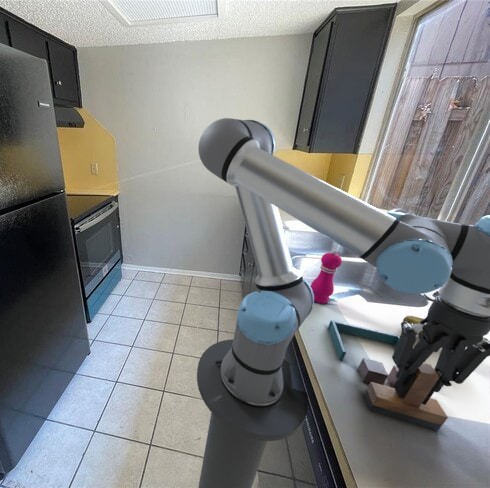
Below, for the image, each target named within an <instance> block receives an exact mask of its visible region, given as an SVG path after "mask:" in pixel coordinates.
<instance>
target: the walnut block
mask: <svg viewBox="0 0 490 488" xmlns="http://www.w3.org/2000/svg"><path fill="white" fill-rule="evenodd" d="M357 371H358V373H359V376H360V378H361V381H362V383H366V384H368V385H369V384H370V382H374V383H377V384H381V385H385V383H386V380H387V379H388V375H389V373H388V372H387V370H386V369H385V366H384V364H383V363H382V362H381V361H377V360H374V359H370V358H366V357H362V359H361V361H360V363H359V365H358V367H357Z"/></svg>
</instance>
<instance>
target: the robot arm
mask: <svg viewBox="0 0 490 488" xmlns="http://www.w3.org/2000/svg"><path fill="white" fill-rule="evenodd" d="M197 149H198V156H199V160H200V162H201V163H202V165H203V166H204V167H205V168H206V169H207V170H208V171H209V172H210V173H211V174H212V175H214V176H216V177H217V178H219V179H220V180H222V181H224V182H225V183H227V184H229V185H231V186H232V187H234V188H235V190H236V195H237V199H238V202H239V206H240V211H241V213H242V217H243V220H244V221H243V222H244V224H245V228H246V231H247V235H248V239H249V243H250V246H251V251H252V254H253V257H254V262H255V265H256V268H257V273H258V274H257V276H256V278H255V279H254V284H255V287H256V291H253V292H251V293H248V294H247V295H246V296H244V297H243V299H242V300H241V302H240V305H239V308H238V311H237V316H236V324H235V327H234V328H235V329H234V333H233V344H232V348H231V349H230V350H229V352H228V353H227V354H226V356H225V357H224V359H223V360H217V361H215V363H216V364H221V367H220V378H221V381H222V383H223V385H224V387H225V389H226V390H227V391H228V392H229V394H230V395H231V396H233V397H234V398H235V399H236V400H238V401H239V402H241V403H243V404H245V405H248V406H251V407H255V408H266V407H270V406H272V405H274V404H276V403H277V402H278V401H279V399H280V397H281V395H282V392H283V385H284V383H283V380H284V379H283V375H282V368H281V365H282V362H283V359H285V355H286V353H287V349H288V347H289V345H290V343H291V341H292V340H293V338H294V336H295V335H296V333H297V331H298V330H299V329H300V327H301V326H302V325H303V323H304V322H305V321H306V319H307V318H308V316H309V315H310V314H311V313H312V310H313V306H314V302H315V301H314V294H313V291H312V288H311V287H310V286H311V284H310V283H309V282H308V281H307V280H304V277H303V273H302V272H301V270H299V269H297V268H295V267H294V264H293V261H292V257H291V252H290V250H289V245H288V241H287V237H286V234H285V230H284V226H283V222H282V219H281V214H280V211H279V209H280V210H281V211H282V212H284V213H286V214H288V215H289V216H291V217H293V218H294V219H296V220H298V221H299V222H301V223H303V224H304V225H306V226H308V227H309V228H311V229H312V230H314V231H316V232H317V233H319V234H320V235H322V236H324V237H326V238H327V239H329V240H331V241H332V242H334V243H336V244H337V245H339V246H340V247H342V248H343V249H345V250H347V251H348V252H351V254H354V255H355V256H357V257H358V258H360V259H362V260H363V261H365V262H367V264H369V265H371V266H372V267H374V268H376V273H377V274H378V276H379V278H380V279H381V281H382V282H383V283H384V284H385V285H387V286H388V287H390V288H391V289H393V290H395V291H397V292H398V291H399V292H401V293H405V294H410V295H411V294H412V295H421V294H428V293H432V292H435V291H436V290H438V289H439V290H438V295H436V296H435V297H434V299H433V301H432V302H431V304H430V306H429V308H428V310H427V315H426V317H425V318H422V319H423V320H421V321H420V323H418V324H409V323H408V322H406V321H403V320H402V321H401V323H400V328H401V333H400V335H399V336H400V338H399V340H398V343H397V345H396V347H395V348H394V350H393V353H392V356H391V359H392V361H393V363H394V364H395V366H397V368H399V370H398V372H397V373H396V378H397V381H396V383H395V385H394V388H395V390H396V392H397V394H398V396H399V398H404V397H405V395H406V394H407V392H408V390H409V389H410V387H411V386H412V384H413V383H414V381H415V379H416V378H417V376H416V374H415V373H414V372H415V371H416V370H417V369H418V368H419V367H420V366H421V365H422V364H423V363H426V361H427V360H428V359H429V358H430V357H431V355H433V354H434V353H438V352H440V353H439V356H438V358H437V361H436V364H435V367H434V370H435V371H436V372H437V374H438V375H439V379H438V380H437V382H436V383H435V385H434V386H433V388H432V389H431V391H430V392H429V394H428V395H427V396H426V398H425V399H424V401H423V402H422V404H424V405H426V403H427V402H428V400H429V399H430V398H432V397H433V394H434V393H439V392H440V391H441V390H442V389H443V387H444V386H445V387H451V386H453V385H452V383H451V382H454V383H455V384H457V385H461V384H463V383H464V382H465V381H466V380H467V379H468V378H469V377H470V375H472V374H473V372H474V371H475V370H476V369H477V368H478V367H479V366H480V365H481V364H482V363H483V362H484V361H486V359H487V358H488V357H490V340H489V339H488V338H487V337H484V336H487V335H488V334H489V333H490V214H488V215H484V216H482V217H481V218H479V220H478V221H477V222H475V223H474V224H463V223H457V222H453V221H446V220H441V219H437V218H436V219H435V218H429V217H424V216H420V215H415V214H411V213H407V212H405V213H404V212H403V213H402V212H394V211H386V212H384V211H383V210H380V209H379V208H376V207H375V206H373V205H371V204H369V203H367V202H365V201H363V200H361V199H359V198H357V197H355V196H353V195H351V194H349V193H347V192H345V191H343V190H342V189H340V188H337V187H335V186H334V185H332V184H329V183H328V182H326V181H324V180H322V179H320V178H318V177H316V176H314V175H313V174H311V173H309V172H306V171H305V170H303V169H300V168H299V167H296V166H295V165H293V164H291V163H289V162H287V161H285V160H283V159H281V158H279V157H277V156H276V155H274V153H275V149H276V140H275V137H274V134H273V132H272V130H271V128H269V127H268V126H267V125H265V124H264V123H262V122H260V121H257V120H255V119H237V118H231V117H224V118H220V119H216V120H215V121H213V122H211V123H210V124H208V126H206V128H205V129H204V130H203V132H202V133H201V135H200V138H199V140H198V148H197ZM421 331H423V334H422V335H421V336H419V332H421ZM418 337H419V340H418V342H417V343H416V341H417V338H418ZM440 350H441V351H440Z"/></svg>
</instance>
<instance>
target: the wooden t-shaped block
mask: <svg viewBox="0 0 490 488" xmlns="http://www.w3.org/2000/svg"><path fill="white" fill-rule="evenodd" d="M434 369H435V367H433V366H432V364H429V363H426V362H424V363H423V364H422V365H421V366H420V367H419V368H418V369H417V370H416V371H415V372H414V373H415V374H416V376H417V378H416V379H415V381H414V383H413V384H412V386H411V387H410V389H409V390H408V392H407V394H406V395H405V397H404V398H399V396H398V394H397V392H396V390H395V388H393V387H392V386H388V385H385V384H383V385H381V384H377V383H374V382H370V384H369V383H368V385H367V387H366V390H365V391H364V393H363V397H364V400H365V402H366V405H367V407H368V411H369V412H372V413H376V414H379V415H383V416H386V417H388V418H392V419H395V420H399V421H401V422H405V423H408V424H412V425H415V426H418V427H422V428H425V429H427V430H431V431H434V432H438V431H439V430H440V429H441V428H442V426H443V425H444V424H445V422H446V421H447V420H448V418H449V417H448V415H447V414H446V412H445V411H444V409H443V408H442V405H440V403H439V401H438V400H437V399H435V398H432V397H430V399H429V400H428V402H427V403H426V405H424V404H422V402H423V401H424V399H425V398H426V396H427V395H428V394H429V392H430V391H431V389H432V388H433V386H434V385H435V383H436V382H437V380H438V379H439V375H438V374H437V372H436V371H435V370H434Z"/></svg>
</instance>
